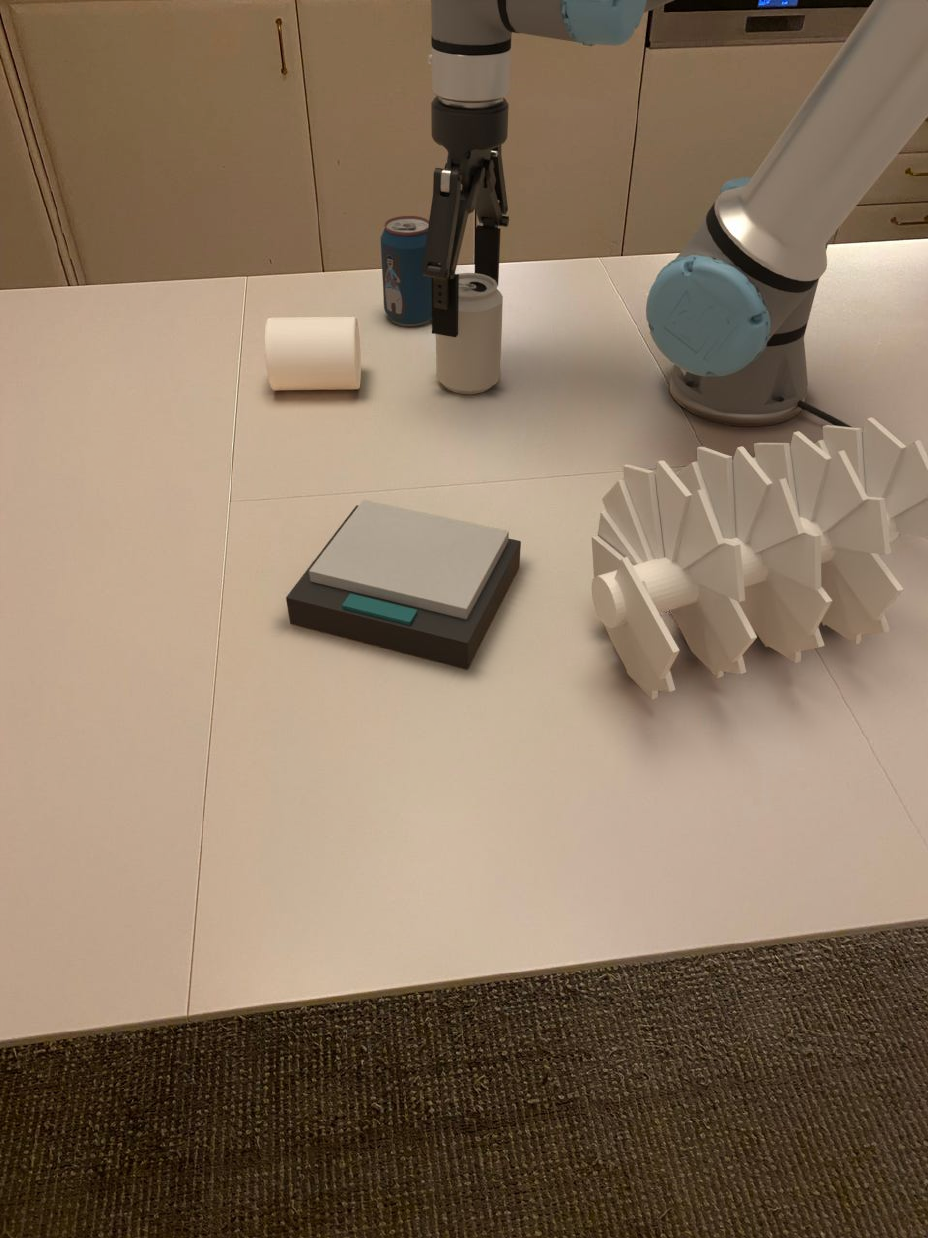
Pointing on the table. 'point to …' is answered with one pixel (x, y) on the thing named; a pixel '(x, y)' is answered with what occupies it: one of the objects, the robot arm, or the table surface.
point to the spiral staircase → (756, 548)
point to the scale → (408, 583)
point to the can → (473, 338)
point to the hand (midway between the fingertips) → (466, 308)
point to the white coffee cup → (313, 353)
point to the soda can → (406, 271)
